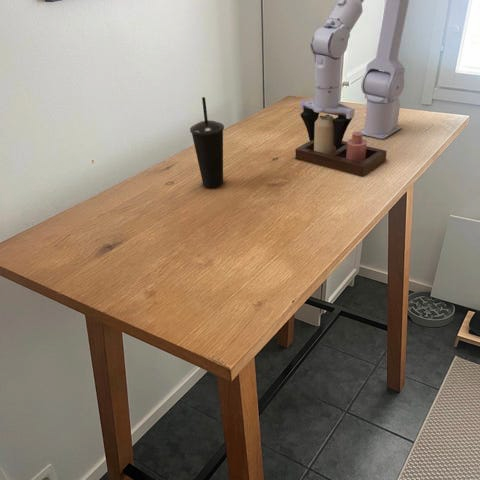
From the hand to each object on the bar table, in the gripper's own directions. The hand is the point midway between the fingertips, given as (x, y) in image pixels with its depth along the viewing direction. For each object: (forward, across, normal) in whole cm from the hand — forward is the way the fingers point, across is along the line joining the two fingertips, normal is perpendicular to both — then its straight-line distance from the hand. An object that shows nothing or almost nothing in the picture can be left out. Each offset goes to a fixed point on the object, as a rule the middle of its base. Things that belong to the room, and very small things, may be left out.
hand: (325, 142), depth 128 cm
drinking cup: (+4, -13, -28) cm, 31 cm away
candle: (+4, 0, 0) cm, 4 cm away
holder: (+3, +5, 0) cm, 6 cm away
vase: (+3, +9, 0) cm, 10 cm away
